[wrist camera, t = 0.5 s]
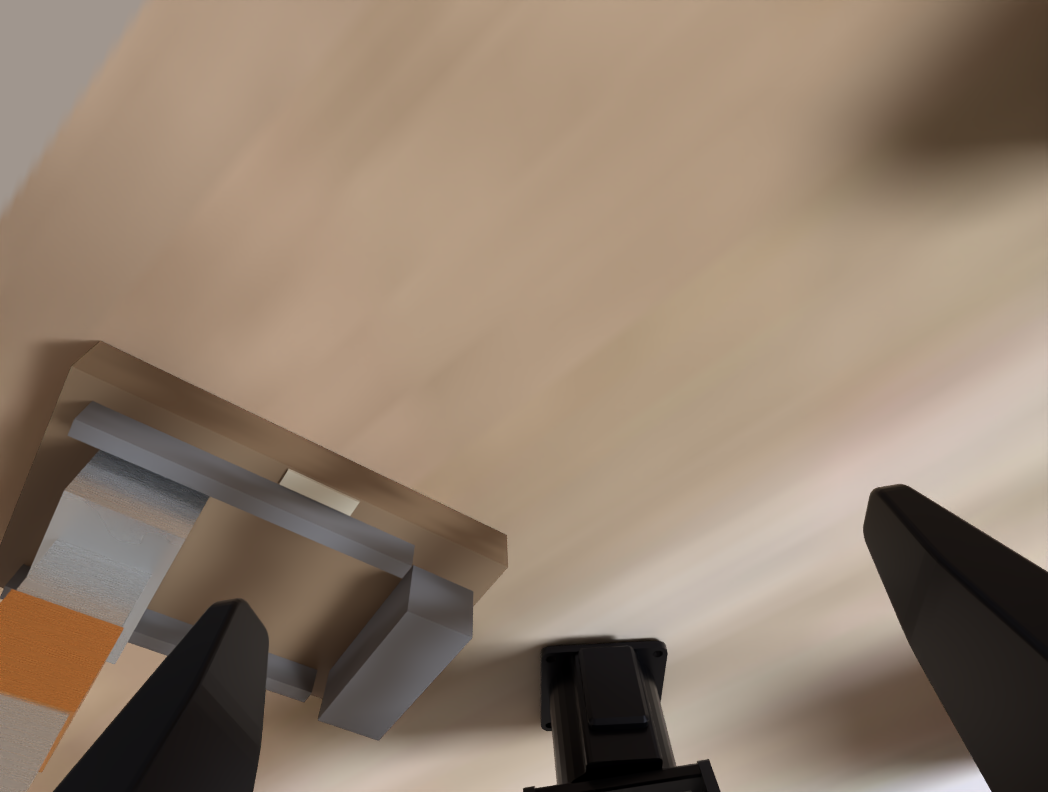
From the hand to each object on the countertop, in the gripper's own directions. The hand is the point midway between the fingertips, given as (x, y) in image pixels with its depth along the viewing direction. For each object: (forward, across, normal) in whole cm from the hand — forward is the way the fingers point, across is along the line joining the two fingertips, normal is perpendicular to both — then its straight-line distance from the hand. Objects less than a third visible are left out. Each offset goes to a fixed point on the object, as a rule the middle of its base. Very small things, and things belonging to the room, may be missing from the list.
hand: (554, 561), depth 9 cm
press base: (+14, +14, +13) cm, 24 cm away
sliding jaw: (+13, +17, +10) cm, 23 cm away
